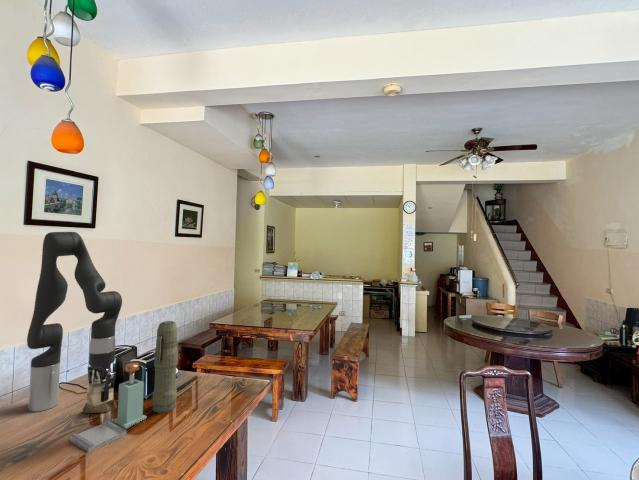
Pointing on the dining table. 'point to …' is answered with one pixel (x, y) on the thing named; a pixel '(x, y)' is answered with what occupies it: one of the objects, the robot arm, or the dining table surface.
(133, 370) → the plunger
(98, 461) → the dining table surface
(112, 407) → the rock
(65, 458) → the dining table surface
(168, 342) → the thermos
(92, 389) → the block
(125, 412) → the column
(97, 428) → the grey square tray
